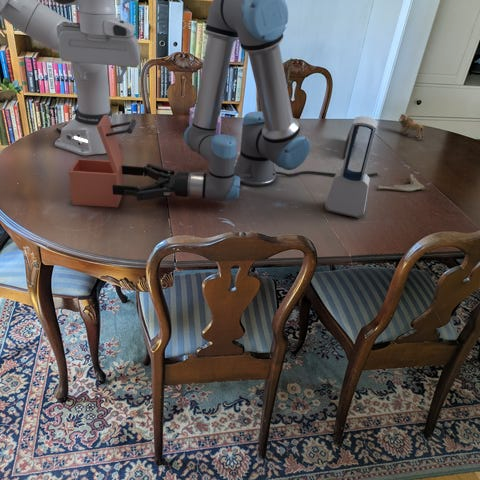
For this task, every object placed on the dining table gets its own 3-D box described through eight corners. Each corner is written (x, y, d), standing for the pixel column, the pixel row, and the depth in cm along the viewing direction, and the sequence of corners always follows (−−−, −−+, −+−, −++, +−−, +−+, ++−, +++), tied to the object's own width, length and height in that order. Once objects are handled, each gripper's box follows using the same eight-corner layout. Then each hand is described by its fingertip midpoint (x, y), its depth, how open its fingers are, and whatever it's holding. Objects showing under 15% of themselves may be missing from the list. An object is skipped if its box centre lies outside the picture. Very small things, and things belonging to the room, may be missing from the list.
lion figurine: (393, 132, 222) (398, 113, 217) (398, 130, 225) (403, 111, 221) (423, 141, 214) (429, 122, 210) (427, 139, 218) (433, 120, 213)
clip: (182, 123, 206) (183, 107, 202) (209, 122, 210) (210, 106, 207) (197, 140, 191) (197, 123, 187) (225, 138, 195) (226, 122, 191)
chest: (72, 204, 138) (68, 171, 133) (80, 190, 146) (77, 158, 140) (117, 207, 139) (115, 174, 134) (123, 192, 147) (121, 161, 142)
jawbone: (429, 189, 172) (431, 184, 171) (394, 201, 161) (396, 196, 160) (410, 177, 177) (412, 172, 176) (375, 189, 167) (376, 184, 165)
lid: (96, 126, 126) (127, 120, 125) (103, 115, 134) (133, 109, 133) (113, 173, 133) (143, 167, 133) (119, 159, 141) (147, 154, 141)
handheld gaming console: (349, 160, 187) (354, 136, 182) (342, 158, 188) (347, 134, 183) (355, 142, 206) (361, 119, 201) (349, 140, 207) (354, 118, 201)
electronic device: (364, 210, 152) (388, 120, 136) (361, 221, 146) (387, 128, 130) (327, 201, 155) (346, 112, 139) (322, 211, 149) (342, 119, 133)
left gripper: (51, 22, 113) (58, 81, 120) (137, 30, 115) (138, 87, 122) (59, 18, 118) (65, 75, 126) (140, 26, 120) (142, 81, 127)
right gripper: (185, 216, 133) (109, 210, 131) (191, 178, 154) (126, 173, 152) (185, 192, 129) (107, 186, 127) (191, 156, 150) (125, 151, 148)
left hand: (102, 81), depth 124 cm, fingers open, 8 cm apart
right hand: (117, 179), depth 140 cm, fingers open, 13 cm apart
